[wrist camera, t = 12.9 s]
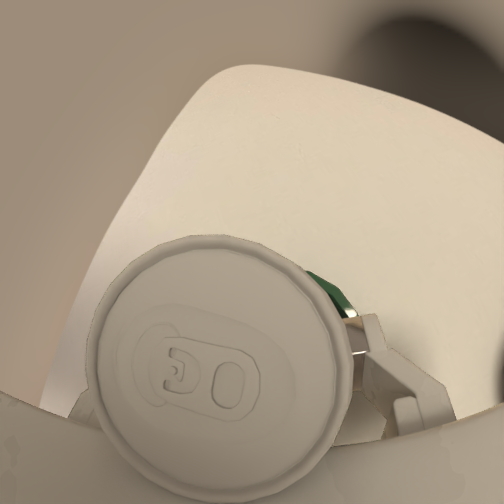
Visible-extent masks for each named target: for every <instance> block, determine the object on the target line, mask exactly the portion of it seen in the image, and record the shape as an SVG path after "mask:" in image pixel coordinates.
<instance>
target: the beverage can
mask: <svg viewBox="0 0 504 504" xmlns="http://www.w3.org/2000/svg"><path fill="white" fill-rule="evenodd" d="M85 370H86V377H87V383H88V389H89V394H90V400H91V403H92V405H93V408H94V410H95V413H96V415H97V418H98V420H99V422H100V425H101V427H102V429H103V431H104V432H105V434H106V435H107V437H108V438H109V440H110V441H111V443H112V444H113V445H114V447H115V448H116V450H117V451H118V452H119V454H120V455H121V456H122V457H123V458H124V459H125V460H126V461H127V462H128V463H129V464H130V465H131V466H132V467H134V468H135V469H136V470H137V471H138V472H139V473H140V474H142V475H143V476H144V477H145V478H147V479H148V480H150V481H152V482H154V483H155V484H157V485H159V486H161V487H163V488H165V489H166V490H168V491H170V492H172V493H174V494H177V495H180V496H184V497H188V498H192V499H196V500H200V501H204V502H208V503H241V502H247V501H251V500H255V499H258V498H262V497H265V496H268V495H272V494H275V493H278V492H280V491H281V490H283V489H285V488H286V487H288V486H290V485H291V484H293V483H294V482H296V481H297V480H299V479H300V478H302V477H304V476H305V475H307V474H308V473H309V472H310V471H311V470H312V469H313V468H314V467H315V465H316V464H317V463H318V462H319V461H320V459H321V458H322V457H323V456H324V455H325V453H326V452H327V451H328V450H329V448H330V447H331V446H332V445H333V443H334V441H335V439H336V436H337V434H338V432H339V430H340V427H341V425H342V422H343V420H344V417H345V415H346V412H347V410H348V407H349V404H350V402H351V399H352V386H353V371H354V360H353V356H352V351H351V347H350V342H349V338H348V334H347V330H346V326H345V324H344V322H343V320H342V318H341V317H340V315H339V313H338V311H337V310H336V308H335V306H334V304H333V303H332V301H331V299H330V297H329V296H328V294H327V293H326V292H325V291H324V290H323V289H322V288H321V287H320V286H319V285H318V284H317V283H316V282H315V281H314V280H313V279H312V278H311V277H310V276H309V275H308V274H307V273H306V272H305V271H304V270H303V269H302V268H301V267H300V266H298V265H296V264H295V263H294V262H292V261H290V260H288V259H287V258H285V257H283V256H281V255H280V254H278V253H276V252H274V251H272V250H271V249H269V248H267V247H265V246H263V245H262V244H260V243H256V242H252V241H248V240H244V239H240V238H236V237H232V236H228V235H224V234H223V235H190V236H186V237H183V238H180V239H176V240H173V241H170V242H167V243H163V244H160V245H157V246H156V247H154V248H153V249H151V250H149V251H148V252H146V253H145V254H143V255H141V256H140V257H138V258H137V259H135V260H134V261H132V262H131V263H130V264H129V265H128V266H127V267H126V268H125V269H124V270H123V271H122V272H121V273H120V274H119V275H118V276H117V277H116V279H115V280H114V281H113V282H112V283H111V284H110V286H109V287H108V289H107V291H106V293H105V294H104V296H103V298H102V300H101V301H100V303H99V305H98V307H97V309H96V310H95V314H94V317H93V320H92V324H91V327H90V331H89V334H88V338H87V348H86V369H85Z"/></svg>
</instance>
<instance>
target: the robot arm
mask: <svg viewBox="0 0 504 504" xmlns="http://www.w3.org/2000/svg"><path fill="white" fill-rule="evenodd" d="M342 320H343V322H344V324H345V326H346V330H347V334H348V338H349V342H350V347H351V351H352V356H353V360H354V371H353V386H352V391H358V390H361V392H362V393H363V394H364V395H365V396H366V398H367V399H368V400H369V401H370V402H371V403H372V404H373V405H374V406H375V407H376V408H377V410H378V411H379V412H380V413H381V414H382V415H383V416H384V417H385V418H386V419H387V423H386V426H385V428H384V431H383V434H382V437H381V439H380V440H376V441H371V442H364V443H358V444H351V445H343V446H334V447H330V448H329V450H328V451H327V452H326V453H325V455H324V456H323V457H322V458H321V459H320V461H319V462H318V463H317V464H316V465H315V467H314V468H313V469H312V470H311V471H310V472H309V473H308V474H307V475H305V476H304V477H302V478H300V479H299V480H297V481H296V482H294V483H293V484H291V485H290V486H288V487H286V488H285V489H283V490H281V491H280V492H278V493H275V494H272V495H268V496H265V497H262V498H258V499H255V500H251V501H247V502H241V503H208V502H204V501H200V500H196V499H192V498H188V497H184V496H180V495H177V494H174V493H172V492H170V491H168V490H166V489H165V488H163V487H161V486H159V485H157V484H155V483H154V482H152V481H150V480H148V479H147V478H145V477H144V476H143V475H142V474H140V473H139V472H138V471H137V470H136V469H135V468H134V467H132V466H131V465H130V464H129V463H128V462H127V461H126V460H125V459H124V458H123V457H122V456H121V455H120V454H119V452H118V451H117V450H116V448H115V447H114V445H113V444H112V443H111V441H110V440H109V438H108V437H107V435H106V434H105V432H104V431H103V429H102V427H101V425H100V422H99V420H98V418H97V415H96V413H95V410H94V408H93V405H92V403H91V400H90V394H89V389H87V390H85V391H84V392H83V393H81V395H80V396H79V398H78V400H77V402H76V404H75V405H74V407H73V409H72V411H71V413H70V414H69V416H68V418H65V417H62V416H59V415H56V414H53V413H51V412H48V411H45V410H43V409H40V408H38V407H35V406H32V405H30V404H28V403H25V402H23V401H21V400H19V399H16V398H14V397H12V396H10V395H8V394H5V393H4V392H2V391H0V504H504V402H503V403H501V404H499V405H496V406H494V407H492V408H489V409H487V410H484V411H482V412H479V413H476V414H474V415H471V416H468V417H465V418H462V419H459V420H456V416H455V413H454V410H453V407H452V404H451V402H450V399H449V396H448V393H447V390H446V388H445V386H444V385H442V384H441V383H440V382H438V381H437V380H435V379H434V378H433V377H431V376H430V375H429V374H427V373H426V372H424V371H423V370H422V369H420V368H419V367H417V366H416V365H415V364H413V363H412V362H411V361H409V360H408V359H406V358H405V357H404V356H402V355H401V354H399V353H398V352H397V351H395V350H394V349H393V348H392V349H388V348H387V344H386V341H385V338H384V335H383V332H382V329H381V326H380V323H379V320H378V317H377V315H376V314H375V313H374V314H368V315H362V316H357V317H350V318H342Z"/></svg>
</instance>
